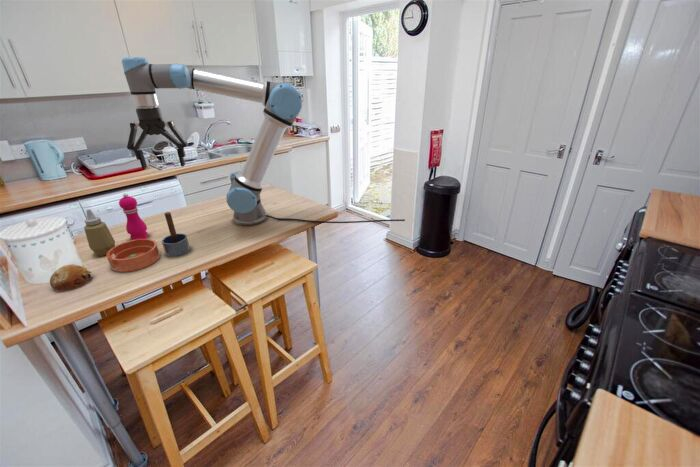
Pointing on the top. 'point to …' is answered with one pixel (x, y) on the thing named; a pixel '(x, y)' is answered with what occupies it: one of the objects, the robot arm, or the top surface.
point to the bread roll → (69, 277)
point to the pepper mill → (133, 218)
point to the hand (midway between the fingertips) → (164, 166)
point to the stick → (171, 227)
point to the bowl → (121, 253)
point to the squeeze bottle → (98, 235)
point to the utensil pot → (176, 245)
